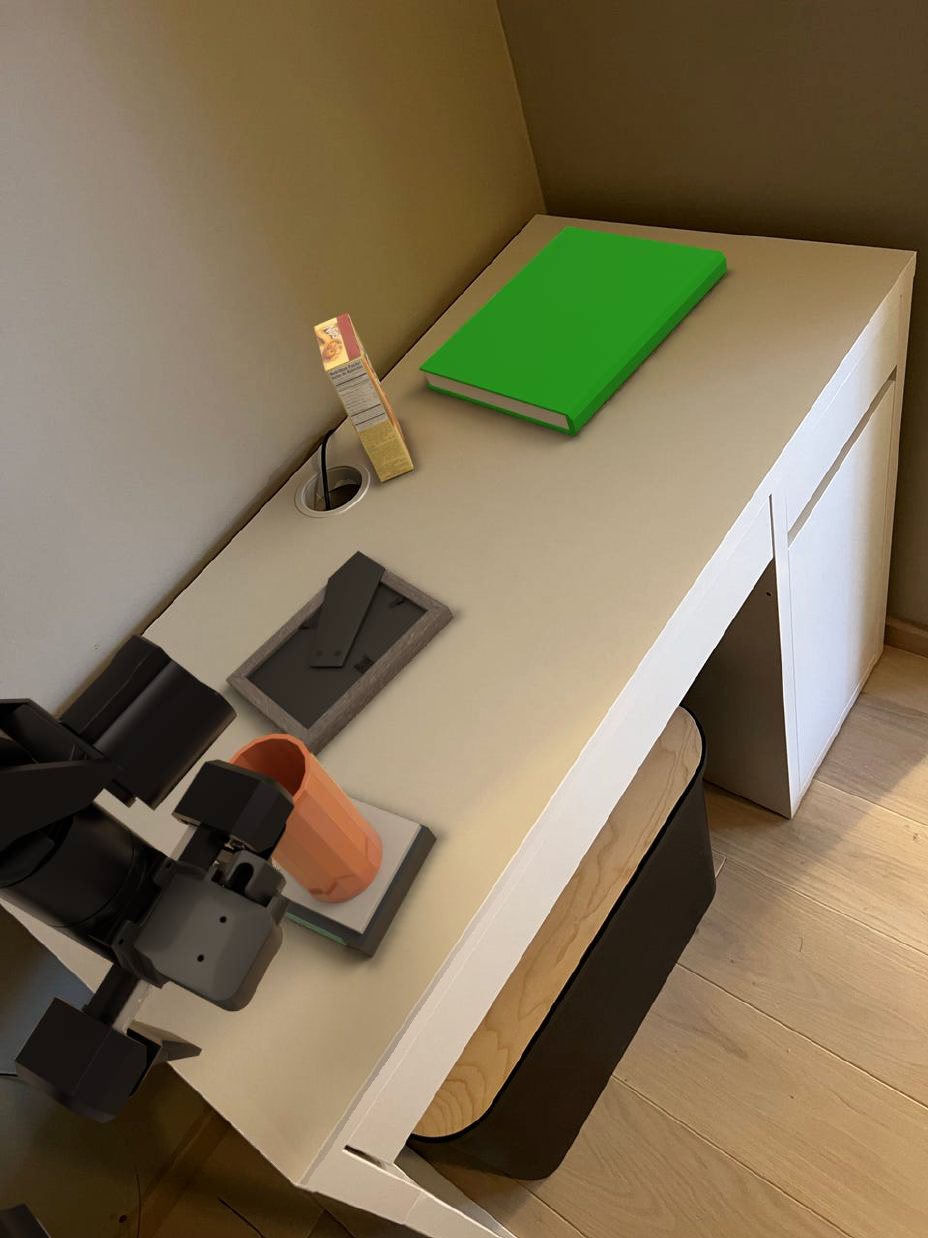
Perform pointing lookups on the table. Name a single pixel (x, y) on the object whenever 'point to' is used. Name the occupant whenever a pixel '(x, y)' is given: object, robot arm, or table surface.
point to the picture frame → (339, 651)
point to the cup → (316, 822)
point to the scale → (380, 901)
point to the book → (572, 326)
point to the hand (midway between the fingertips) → (237, 974)
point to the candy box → (362, 396)
